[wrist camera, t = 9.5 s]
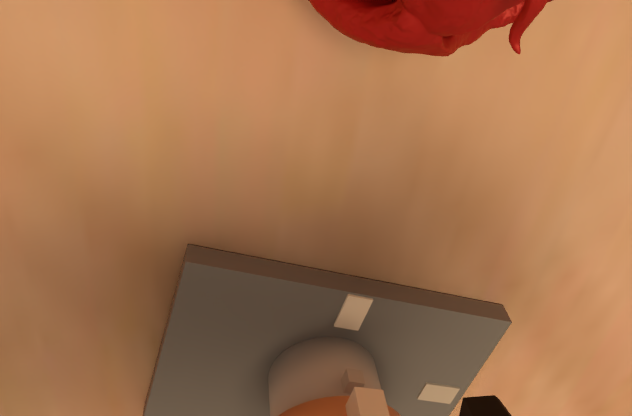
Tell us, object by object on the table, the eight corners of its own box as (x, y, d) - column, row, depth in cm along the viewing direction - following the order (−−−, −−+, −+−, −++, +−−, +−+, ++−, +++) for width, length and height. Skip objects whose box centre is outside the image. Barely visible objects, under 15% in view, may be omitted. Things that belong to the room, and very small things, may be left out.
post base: (144, 406, 26) (129, 495, 22) (188, 244, 21) (178, 324, 18) (415, 439, 29) (438, 520, 26) (502, 304, 24) (543, 381, 21)
